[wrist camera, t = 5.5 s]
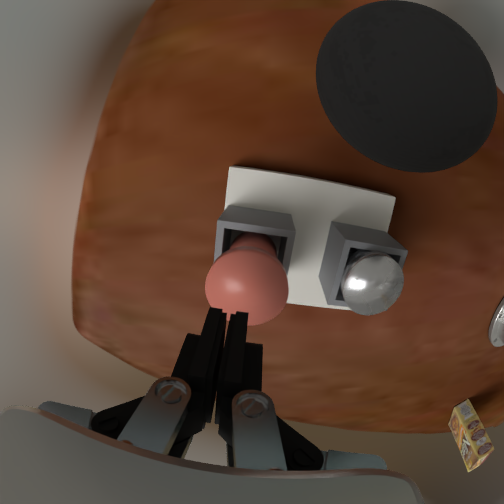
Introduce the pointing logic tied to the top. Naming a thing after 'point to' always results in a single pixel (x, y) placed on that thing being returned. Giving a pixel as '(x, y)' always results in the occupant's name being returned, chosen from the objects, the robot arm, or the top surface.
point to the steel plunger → (370, 281)
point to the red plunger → (248, 279)
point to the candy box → (470, 435)
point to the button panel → (308, 227)
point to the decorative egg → (406, 86)
